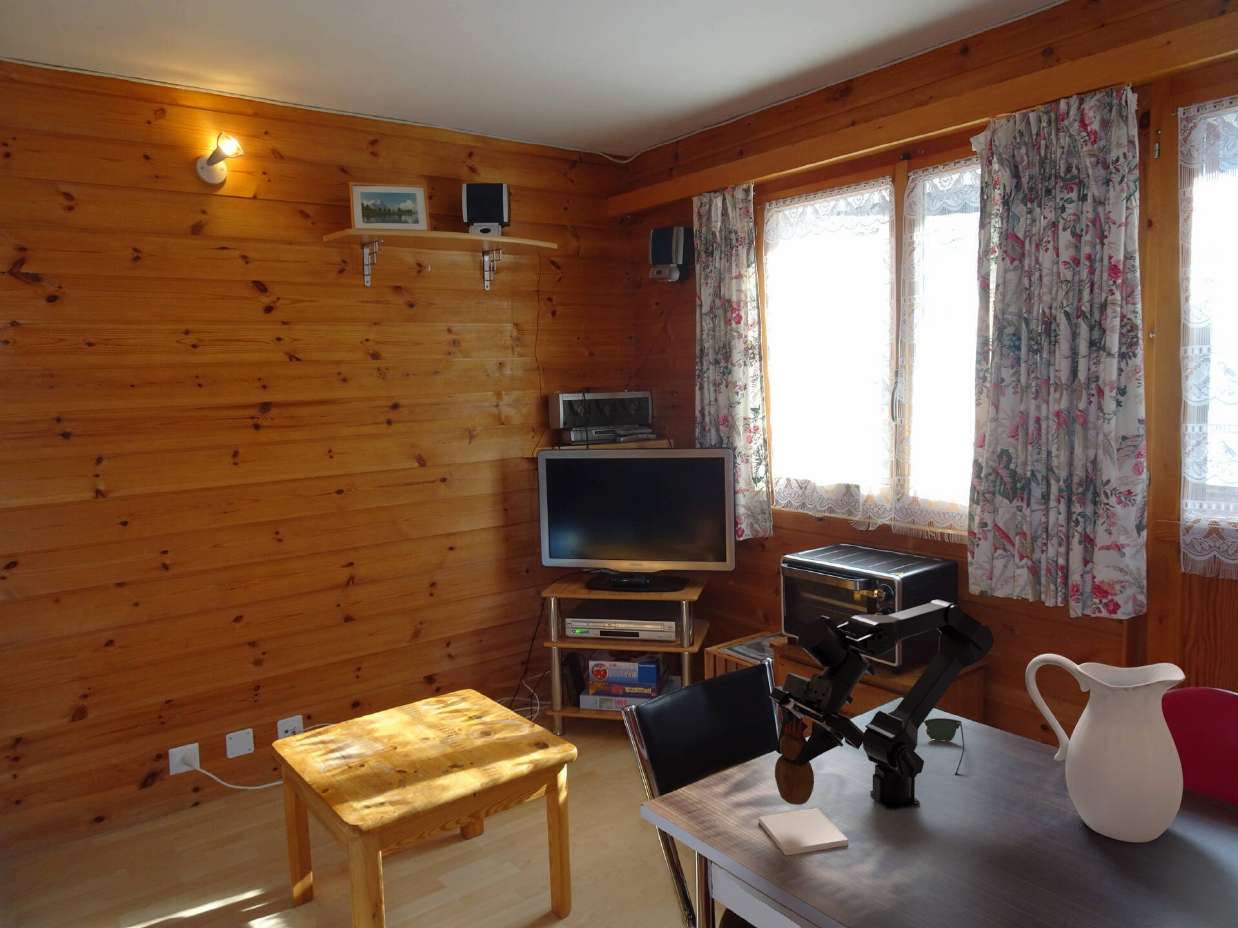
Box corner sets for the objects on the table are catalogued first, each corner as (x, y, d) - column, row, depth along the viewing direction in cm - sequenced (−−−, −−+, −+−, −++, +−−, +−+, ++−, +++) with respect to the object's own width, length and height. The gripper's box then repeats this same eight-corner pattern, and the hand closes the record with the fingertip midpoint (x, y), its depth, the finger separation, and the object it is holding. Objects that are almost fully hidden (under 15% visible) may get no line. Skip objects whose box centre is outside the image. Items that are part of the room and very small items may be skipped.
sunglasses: (883, 771, 169) (883, 746, 169) (878, 736, 186) (878, 713, 185) (973, 778, 166) (974, 752, 165) (960, 742, 182) (961, 718, 181)
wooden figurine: (819, 806, 144) (818, 719, 142) (787, 811, 143) (785, 724, 141) (801, 787, 151) (800, 704, 149) (770, 792, 149) (768, 708, 148)
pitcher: (1190, 822, 147) (1196, 662, 144) (1168, 865, 134) (1174, 690, 132) (1040, 781, 163) (1043, 635, 160) (1007, 815, 151) (1010, 658, 148)
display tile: (817, 813, 153) (817, 807, 153) (848, 844, 142) (848, 839, 142) (758, 822, 150) (758, 816, 150) (785, 855, 140) (785, 849, 140)
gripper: (776, 641, 154) (726, 714, 150) (848, 670, 137) (795, 754, 134) (812, 675, 158) (765, 747, 155) (887, 708, 142) (836, 790, 138)
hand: (787, 758), depth 145 cm, fingers closed on wooden figurine, 5 cm apart
